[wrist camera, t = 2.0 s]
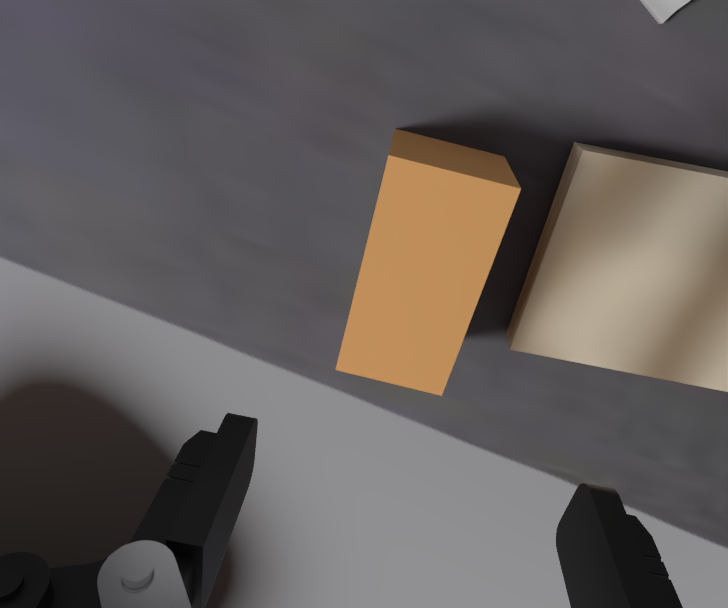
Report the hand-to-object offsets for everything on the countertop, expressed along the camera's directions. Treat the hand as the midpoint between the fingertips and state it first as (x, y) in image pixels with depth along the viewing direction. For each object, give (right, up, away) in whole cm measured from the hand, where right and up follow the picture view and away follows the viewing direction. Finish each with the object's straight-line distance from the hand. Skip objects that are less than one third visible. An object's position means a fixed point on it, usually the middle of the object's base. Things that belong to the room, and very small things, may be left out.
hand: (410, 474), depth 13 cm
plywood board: (+15, +5, +12) cm, 20 cm away
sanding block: (+2, +7, +13) cm, 15 cm away
